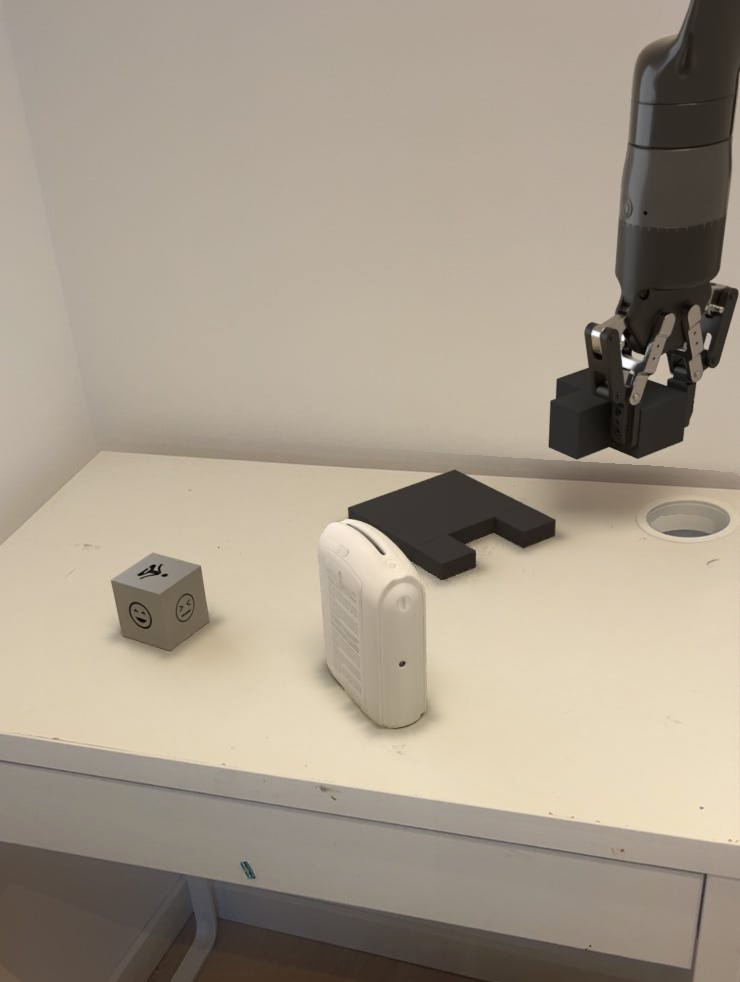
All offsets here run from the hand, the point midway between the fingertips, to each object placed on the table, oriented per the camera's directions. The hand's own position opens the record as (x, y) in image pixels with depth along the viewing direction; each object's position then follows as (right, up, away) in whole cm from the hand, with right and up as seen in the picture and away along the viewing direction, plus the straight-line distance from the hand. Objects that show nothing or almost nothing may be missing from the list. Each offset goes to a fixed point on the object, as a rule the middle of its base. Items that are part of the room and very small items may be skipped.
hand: (650, 434), depth 95 cm
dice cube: (-39, -16, -1) cm, 43 cm away
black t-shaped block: (-3, +1, +3) cm, 4 cm away
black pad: (-15, -6, +8) cm, 18 cm away
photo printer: (-23, -22, -11) cm, 34 cm away
